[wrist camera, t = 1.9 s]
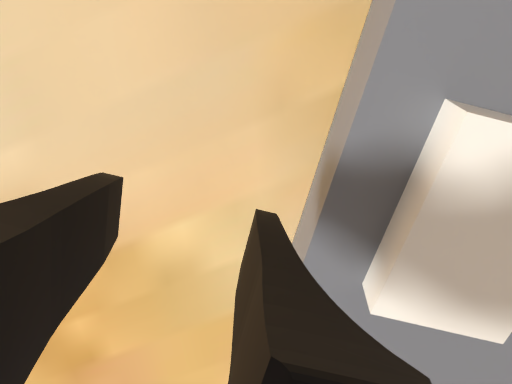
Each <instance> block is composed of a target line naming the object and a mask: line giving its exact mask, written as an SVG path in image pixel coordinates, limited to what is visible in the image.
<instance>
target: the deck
mask: <svg viewBox="0 0 512 384" xmlns="http://www.w3.org/2000/svg"><path fill="white" fill-rule="evenodd" d="M445 99H449V100H453V101H457V102H461V103H464V104H468V105H472V106H476V107H480V108H484V109H488V110H492V111H496V112H500V113H504V114H508V115H511V116H512V0H372V3H371V6H370V9H369V12H368V15H367V18H366V21H365V24H364V27H363V30H362V33H361V36H360V39H359V42H358V45H357V49H356V52H355V55H354V58H353V61H352V64H351V67H350V70H349V73H348V76H347V79H346V82H345V85H344V88H343V91H342V94H341V97H340V100H339V103H338V106H337V109H336V112H335V115H334V118H333V121H332V125H331V128H330V131H329V134H328V137H327V140H326V143H325V146H324V149H323V152H322V155H321V158H320V161H319V164H318V167H317V170H316V173H315V176H314V179H313V182H312V185H311V188H310V191H309V194H308V197H307V201H306V204H305V207H304V210H303V213H302V216H301V219H300V222H299V225H298V228H297V231H296V234H295V237H294V240H293V243H292V245H293V247H294V249H295V250H296V252H297V254H298V256H299V257H300V259H301V260H302V262H303V263H304V265H305V266H306V268H307V269H308V271H309V272H310V274H311V275H312V276H313V278H314V279H315V280H316V281H317V283H318V284H319V285H320V286H321V287H322V289H323V290H324V291H325V292H326V293H327V294H328V296H329V297H330V298H331V299H332V300H333V301H334V302H335V303H336V304H337V305H338V306H339V307H340V308H341V309H342V310H343V311H344V312H345V313H346V314H347V315H348V316H349V317H350V318H351V319H352V320H353V321H354V322H355V323H356V324H357V325H359V326H360V327H361V328H362V329H363V330H364V331H366V332H367V333H368V334H369V335H370V336H372V337H373V338H374V339H375V340H377V341H378V342H379V343H380V344H382V345H383V346H384V347H385V348H387V349H388V350H389V351H391V352H392V353H393V354H395V355H396V356H398V357H399V358H401V359H402V360H404V361H405V362H407V363H408V364H409V365H411V366H412V367H414V368H415V369H417V370H418V371H420V372H421V373H423V374H424V375H425V376H427V377H428V378H430V381H431V383H432V384H512V332H511V334H510V335H509V337H508V338H507V339H506V341H505V342H504V344H500V343H495V342H491V341H487V340H482V339H478V338H473V337H469V336H465V335H460V334H456V333H452V332H447V331H443V330H438V329H434V328H430V327H425V326H421V325H417V324H412V323H408V322H404V321H399V320H395V319H390V318H386V317H382V316H377V315H373V314H370V311H369V307H368V304H367V300H366V296H365V293H364V289H363V285H362V283H363V281H364V279H365V276H366V274H367V272H368V270H369V267H370V265H371V263H372V261H373V258H374V256H375V254H376V252H377V249H378V247H379V245H380V243H381V241H382V238H383V236H384V234H385V232H386V229H387V227H388V225H389V223H390V220H391V218H392V216H393V214H394V211H395V209H396V207H397V205H398V203H399V200H400V198H401V196H402V194H403V191H404V189H405V187H406V185H407V182H408V180H409V178H410V176H411V173H412V171H413V169H414V167H415V165H416V162H417V160H418V158H419V156H420V153H421V151H422V149H423V147H424V144H425V142H426V140H427V138H428V136H429V133H430V131H431V129H432V127H433V124H434V122H435V120H436V118H437V115H438V113H439V111H440V109H441V106H442V104H443V102H444V100H445Z"/></svg>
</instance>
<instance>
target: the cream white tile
mask: <svg viewBox="0 0 512 384" xmlns="http://www.w3.org/2000/svg"><path fill="white" fill-rule="evenodd" d="M362 285H363V289H364V293H365V296H366V300H367V304H368V307H369V311H370V314H373V315H377V316H382V317H386V318H390V319H395V320H399V321H404V322H408V323H412V324H417V325H421V326H425V327H430V328H434V329H438V330H443V331H447V332H452V333H456V334H460V335H465V336H469V337H473V338H478V339H482V340H487V341H491V342H495V343H500V344H504V342H505V341H506V339H507V338H508V337H509V335H510V334H511V332H512V116H511V115H508V114H504V113H500V112H496V111H492V110H488V109H484V108H480V107H476V106H472V105H468V104H464V103H461V102H457V101H453V100H449V99H445V100H444V102H443V104H442V106H441V109H440V111H439V113H438V115H437V118H436V120H435V122H434V124H433V127H432V129H431V131H430V133H429V136H428V138H427V140H426V142H425V144H424V147H423V149H422V151H421V153H420V156H419V158H418V160H417V162H416V165H415V167H414V169H413V171H412V173H411V176H410V178H409V180H408V182H407V185H406V187H405V189H404V191H403V194H402V196H401V198H400V200H399V203H398V205H397V207H396V209H395V211H394V214H393V216H392V218H391V220H390V223H389V225H388V227H387V229H386V232H385V234H384V236H383V238H382V241H381V243H380V245H379V247H378V249H377V252H376V254H375V256H374V258H373V261H372V263H371V265H370V267H369V270H368V272H367V274H366V276H365V279H364V281H363V283H362Z"/></svg>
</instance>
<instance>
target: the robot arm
mask: <svg viewBox="0 0 512 384" xmlns="http://www.w3.org/2000/svg"><path fill="white" fill-rule="evenodd" d="M122 185H123V177H119V176H115V175H110V174H106V173H98V174H94V175H91V176H87V177H84V178H81V179H78V180H75V181H72V182H69V183H66V184H63V185H60V186H57V187H54V188H51V189H48V190H45V191H42V192H39V193H35V194H32V195H28V196H25V197H21V198H18V199H15V200H11V201H7V202H3V203H0V384H24V383H25V381H26V380H27V378H28V376H29V374H30V372H31V370H32V369H33V367H34V365H35V364H36V362H37V360H38V358H39V357H40V355H41V353H42V352H43V350H44V348H45V346H46V345H47V343H48V341H49V339H50V338H51V336H52V335H53V333H54V332H55V330H56V329H57V327H58V326H59V324H60V323H61V321H62V320H63V319H64V317H65V316H66V315H67V313H68V312H69V310H70V309H71V308H72V306H73V305H74V304H75V302H76V301H77V300H78V298H79V297H80V296H81V294H82V293H83V291H84V290H85V289H86V287H87V286H88V285H89V283H90V282H91V280H92V279H93V278H94V276H95V275H96V274H97V272H98V271H99V269H100V268H101V267H102V265H103V264H104V262H105V260H106V258H107V256H108V255H109V253H110V251H111V249H112V247H113V245H114V243H115V241H116V239H117V237H118V229H119V218H120V207H121V196H122ZM228 384H432V383H431V381H430V378H428V377H427V376H425V375H424V374H423V373H421V372H420V371H418V370H417V369H415V368H414V367H412V366H411V365H409V364H408V363H407V362H405V361H404V360H402V359H401V358H399V357H398V356H396V355H395V354H393V353H392V352H391V351H389V350H388V349H387V348H385V347H384V346H383V345H382V344H380V343H379V342H378V341H377V340H375V339H374V338H373V337H372V336H370V335H369V334H368V333H367V332H366V331H364V330H363V329H362V328H361V327H360V326H359V325H357V324H356V323H355V322H354V321H353V320H352V319H351V318H350V317H349V316H348V315H347V314H346V313H345V312H344V311H343V310H342V309H341V308H340V307H339V306H338V305H337V304H336V303H335V302H334V301H333V300H332V299H331V298H330V297H329V296H328V294H327V293H326V292H325V291H324V290H323V289H322V287H321V286H320V285H319V284H318V283H317V281H316V280H315V279H314V278H313V276H312V275H311V274H310V272H309V271H308V269H307V268H306V266H305V265H304V263H303V262H302V260H301V259H300V257H299V256H298V254H297V252H296V250H295V249H294V247H293V245H292V243H291V242H290V240H289V238H288V236H287V234H286V232H285V230H284V228H283V226H282V224H281V221H280V219H279V217H278V216H277V214H275V213H270V212H266V211H262V210H258V209H256V211H255V215H254V219H253V223H252V226H251V230H250V234H249V237H248V241H247V245H246V249H245V252H244V256H243V260H242V264H241V268H240V273H239V279H238V284H237V289H236V296H235V310H234V324H233V339H232V354H231V366H230V374H229V381H228Z"/></svg>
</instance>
